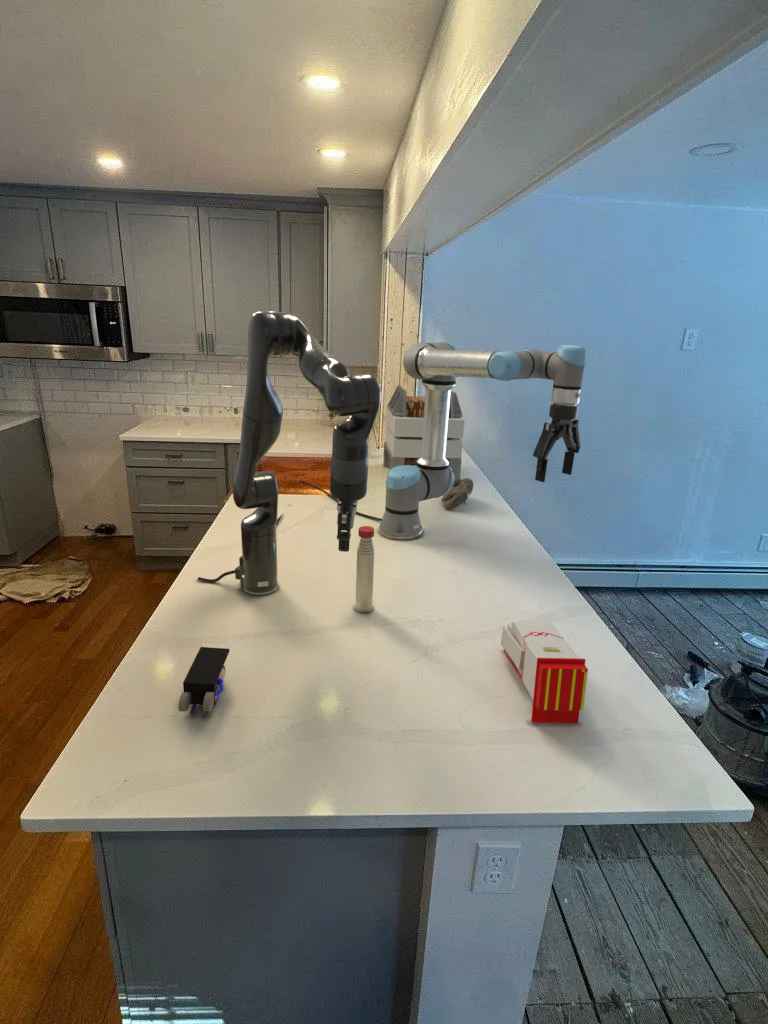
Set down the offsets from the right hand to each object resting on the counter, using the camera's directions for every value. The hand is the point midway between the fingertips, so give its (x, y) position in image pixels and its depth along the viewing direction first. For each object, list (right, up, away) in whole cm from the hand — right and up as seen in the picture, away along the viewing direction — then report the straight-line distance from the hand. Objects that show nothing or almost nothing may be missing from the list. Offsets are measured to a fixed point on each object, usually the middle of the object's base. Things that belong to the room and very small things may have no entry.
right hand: (553, 477), depth 165 cm
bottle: (-55, -35, -15) cm, 67 cm away
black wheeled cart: (-85, -47, -52) cm, 110 cm away
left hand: (-57, -16, -42) cm, 73 cm away
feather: (-87, -12, +45) cm, 99 cm away
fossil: (-19, -6, +70) cm, 73 cm away
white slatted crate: (-32, +9, +110) cm, 115 cm away
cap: (-54, -15, -23) cm, 60 cm away
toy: (-16, -47, -42) cm, 65 cm away
